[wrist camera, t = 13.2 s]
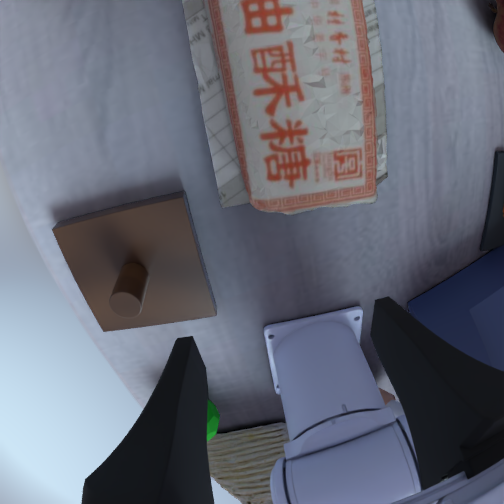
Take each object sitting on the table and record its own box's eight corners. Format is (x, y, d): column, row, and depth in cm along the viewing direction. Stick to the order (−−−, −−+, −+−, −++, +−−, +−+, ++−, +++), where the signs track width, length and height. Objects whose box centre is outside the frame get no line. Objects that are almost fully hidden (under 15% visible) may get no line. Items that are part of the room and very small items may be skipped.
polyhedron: (195, 416, 31) (195, 454, 27) (158, 398, 29) (155, 439, 25) (229, 399, 30) (232, 440, 26) (191, 379, 27) (191, 423, 23)
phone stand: (507, 240, 23) (588, 321, 13) (500, 316, 29) (553, 388, 19) (407, 302, 25) (476, 415, 15) (419, 368, 31) (462, 454, 21)
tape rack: (216, 306, 23) (217, 347, 20) (106, 323, 23) (94, 361, 20) (184, 190, 18) (177, 220, 15) (57, 222, 18) (31, 254, 15)
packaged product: (416, 209, 15) (222, 242, 15) (377, 177, 19) (221, 201, 19) (376, -118, 6) (156, -117, 6) (343, -87, 10) (169, -79, 10)
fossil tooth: (187, 424, 34) (314, 408, 32) (206, 445, 37) (320, 432, 35) (176, 509, 24) (326, 502, 22) (199, 521, 27) (330, 513, 25)
